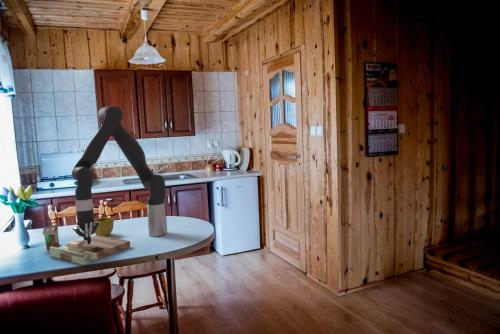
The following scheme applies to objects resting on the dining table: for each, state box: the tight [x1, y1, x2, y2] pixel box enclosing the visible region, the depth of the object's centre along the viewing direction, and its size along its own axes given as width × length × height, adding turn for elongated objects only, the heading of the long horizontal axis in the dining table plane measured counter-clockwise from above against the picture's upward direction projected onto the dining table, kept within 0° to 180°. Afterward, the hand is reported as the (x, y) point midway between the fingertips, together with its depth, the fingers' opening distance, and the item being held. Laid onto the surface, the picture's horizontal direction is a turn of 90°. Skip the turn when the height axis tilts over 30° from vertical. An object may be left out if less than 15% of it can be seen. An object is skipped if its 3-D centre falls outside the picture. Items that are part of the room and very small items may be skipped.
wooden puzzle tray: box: [49, 234, 131, 266], centre depth 177 cm, size 26×25×4 cm
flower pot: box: [94, 216, 115, 237], centre depth 204 cm, size 9×9×9 cm
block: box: [67, 238, 88, 252], centre depth 171 cm, size 6×6×4 cm
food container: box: [41, 224, 60, 251], centre depth 185 cm, size 12×6×10 cm, turn 21°
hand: (87, 244), depth 175 cm, fingers closed
